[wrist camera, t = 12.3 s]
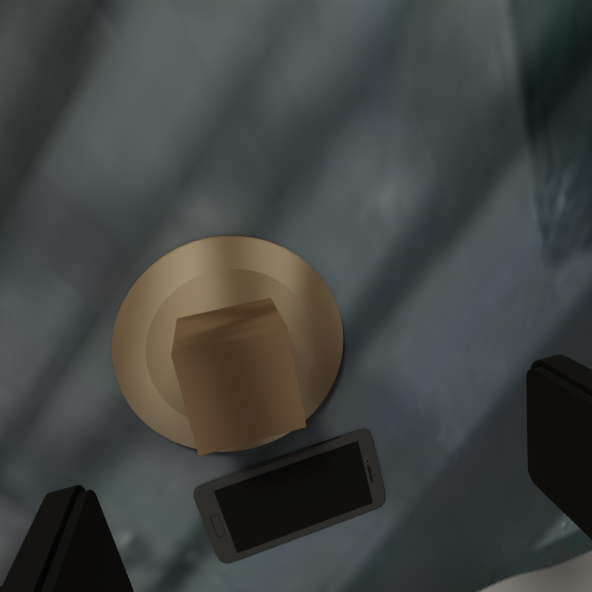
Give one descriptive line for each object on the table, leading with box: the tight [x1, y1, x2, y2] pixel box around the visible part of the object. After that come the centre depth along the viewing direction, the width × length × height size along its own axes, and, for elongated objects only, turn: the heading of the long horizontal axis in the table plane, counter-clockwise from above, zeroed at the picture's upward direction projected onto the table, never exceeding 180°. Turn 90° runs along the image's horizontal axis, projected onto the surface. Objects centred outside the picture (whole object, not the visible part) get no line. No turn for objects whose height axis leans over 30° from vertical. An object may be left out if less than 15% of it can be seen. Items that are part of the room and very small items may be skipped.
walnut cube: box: [171, 298, 306, 456], centre depth 26 cm, size 6×6×6 cm
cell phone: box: [194, 429, 385, 563], centre depth 34 cm, size 7×14×1 cm, turn 104°
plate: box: [112, 235, 343, 452], centre depth 30 cm, size 15×15×1 cm
